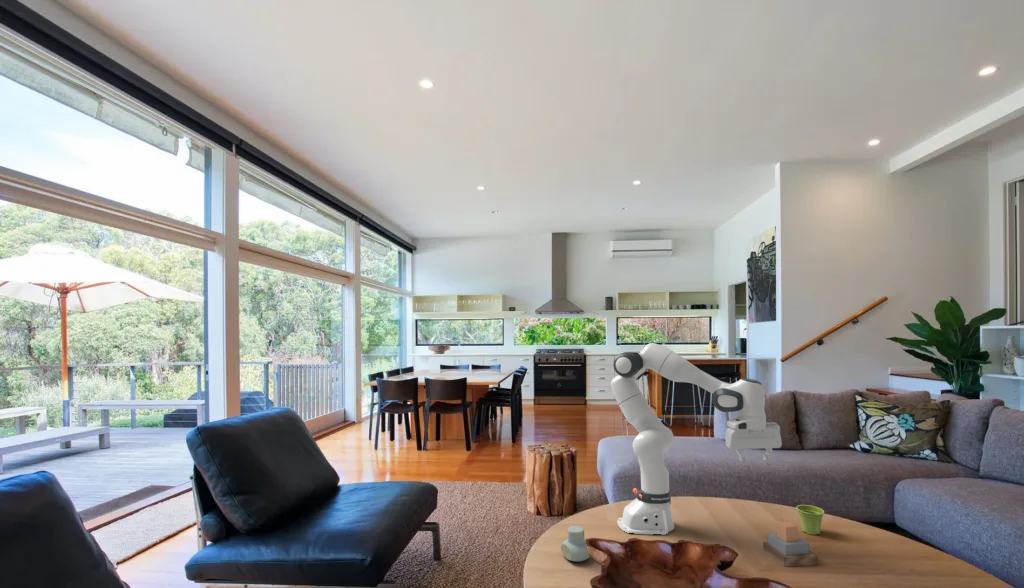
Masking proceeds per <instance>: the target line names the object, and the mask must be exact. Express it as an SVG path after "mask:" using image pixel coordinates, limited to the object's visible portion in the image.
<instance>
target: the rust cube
mask: <svg viewBox="0 0 1024 588" xmlns="http://www.w3.org/2000/svg"><path fill="white" fill-rule="evenodd" d="M776 533H777V536H778V537H779V538H781V539H783V540H784V541H786V542H790V541H798V537H799V536H798V535H799V534H798V525H797V524H794V523H792V522H790V521H789V520H784V521H776Z"/></svg>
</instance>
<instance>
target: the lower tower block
mask: <svg viewBox="0 0 1024 588" xmlns="http://www.w3.org/2000/svg"><path fill="white" fill-rule="evenodd" d="M762 550H763V551H764V552H765V553H766V552H767V553H766V554H767V555H769V556H770V557H771V556H772V557H771V558H772V559H774V560H775V559H776V560H775V561H777V563H779V564H780V563H781V566H783V567H798V566H797V565H804V566H817V565H819V561H818V559H819V558H818V555H817V554H815V553H814V552H812V551H811V550H809V552H810V553H808V554H798V555H787V556H786V555H784V554H783V553H781V552H780V551H778V550H777V549H775V548H774V547H772V546H771V545H769V544H768V541H762Z"/></svg>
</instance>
